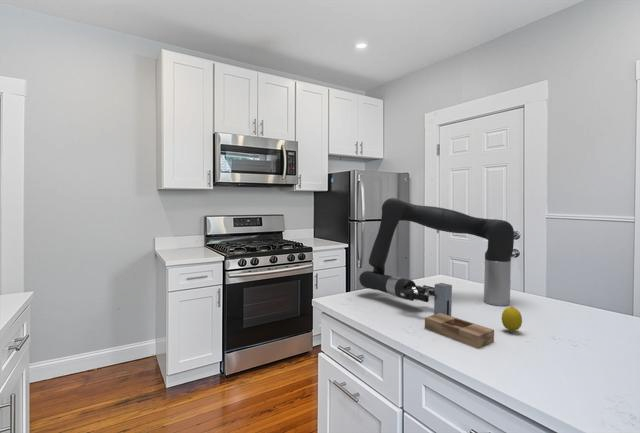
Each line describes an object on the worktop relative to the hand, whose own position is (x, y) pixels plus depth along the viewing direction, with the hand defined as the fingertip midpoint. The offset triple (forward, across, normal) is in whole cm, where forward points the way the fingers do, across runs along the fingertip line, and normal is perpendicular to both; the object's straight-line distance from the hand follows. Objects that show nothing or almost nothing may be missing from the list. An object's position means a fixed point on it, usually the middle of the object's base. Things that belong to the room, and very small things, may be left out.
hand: (435, 297), depth 119 cm
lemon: (+22, +8, +7) cm, 24 cm away
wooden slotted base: (+14, -8, +7) cm, 17 cm away
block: (+3, 0, +7) cm, 8 cm away
